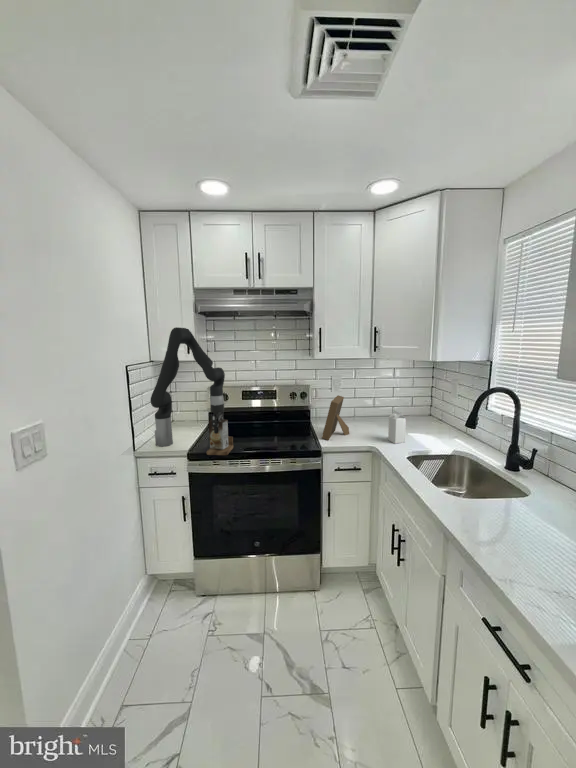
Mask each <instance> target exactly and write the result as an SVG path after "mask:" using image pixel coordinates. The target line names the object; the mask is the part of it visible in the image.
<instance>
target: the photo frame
mask: <svg viewBox="0 0 576 768" xmlns="http://www.w3.org/2000/svg"><path fill="white" fill-rule="evenodd" d="M344 399H345V397H344V396H342V395H336V396H335V397H334V398H333V399H332V400H331V401H330V404H329V409H328V413H327V416H326V421H325V424H324V428H323V432H322V436H321V439H323V440H326V441H329V440H330V439H331V437H332V436H333V435H334V434H335V432H336V430H337V426H338V423H339V426H340V428H341V431H342V432H343V435H344V436H348V435H350V429H349V428H350V427H349V426H348V425H347V423H345V421H344V420H343V418H341V416H340V413H341V411H342V407H343V402H344Z"/></svg>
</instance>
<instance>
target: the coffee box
mask: <svg viewBox="0 0 576 768" xmlns="http://www.w3.org/2000/svg"><path fill="white" fill-rule="evenodd" d="M228 423H229V420H228V419H225V418H224V419H221V420H220V421H219V423H218V434H215V433H214V427H212V419H210V420H208V430H209V433H208V434H209V448H215V449H225V448H226V447H228V437H229V427H228V426H229V425H228ZM213 424H214V423H213Z"/></svg>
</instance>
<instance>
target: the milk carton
mask: <svg viewBox="0 0 576 768" xmlns="http://www.w3.org/2000/svg"><path fill="white" fill-rule="evenodd" d="M406 423H407V418H406V417H405V416H404V415H403V414H402V412H400V411H398V410H395V409H394V410H393V412H392V413H391V414H390V415H389V416H388V436H387V437H388V439H387V441H389V442H390V443H392V444H395V445H396V444H402V443H403V444H404V443H406V429H407V428H406Z"/></svg>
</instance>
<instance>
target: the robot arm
mask: <svg viewBox="0 0 576 768" xmlns="http://www.w3.org/2000/svg"><path fill="white" fill-rule="evenodd" d="M168 337H169V338H168V342H167V347H166V350H165V355H164V359H163V361H162V364H161V369H160V372H159V374H158V378H157V381H156V384H155V385H154V389H153V392H152V394H151V396H150V404H151V406H152V407H153V408H155V409H157V411H156V412H155V413H154V422H155V430H154V441H155V446H157V445H158V446H157V447H168V446H171V445H173V443H174V441H173V440H174V439H173V427H172V411H173V408H172V407H173V405H172V403H173V402H172V395H171V394H170V393H169V391H167V389H168V388H169V387H170V385H171V384H172V382H173V381H174V380H175V378H176V377H177V375H178V371H179V367H180V361H179V355H178V353H179V350H180V349H179V348H180V346H181V345H183V344H184V345H185V346H187V348H189V349H190V351H191V353H192V357H193V359H194V361H195V362H196V363H197V365H198V366H199V367H200V368H201V370H202V371H203V373H204V375H205V378H206V379H207V380H209V381H210V382H213V384H211V385H210V387H209V393H210V397H209V401H210V403H209V404H210V405H209V406H210V412H211V413H213V415H212V416H211V420H212V427H214V433H215V434H218V423H219V421H220V420H221V419H225V417H224V415H225V414H224V413H225V399H224V390H223V389H224V388H223V387H224V383H225V378H226V377H225V376H226V374H225V370H224V369H223V368H222V367H213V364H214V363H213V360H212V359H211V358H210V356H208V354H207V353H206V352H205V351H204V350H203V348H202V346H201V345H200V344H199V342H198V341H197V340H196V338H195V336H194V335H193V333H192V332H191V330H189V329H188V328H187V327H174V328H172V329H171V331H170V333H169V336H168ZM213 423H214V424H213Z"/></svg>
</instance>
